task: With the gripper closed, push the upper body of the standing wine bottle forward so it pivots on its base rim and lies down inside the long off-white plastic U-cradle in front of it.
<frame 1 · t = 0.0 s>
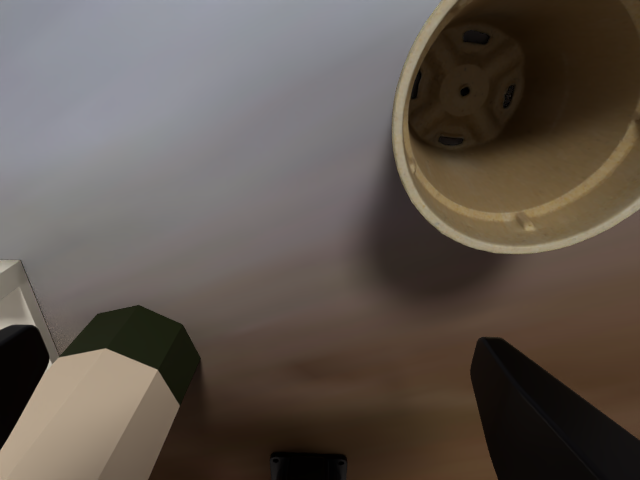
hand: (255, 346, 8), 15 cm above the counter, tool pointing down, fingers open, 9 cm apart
wine bottle: (144, 349, 28), on the counter
flower pot: (462, 89, 19), on the counter
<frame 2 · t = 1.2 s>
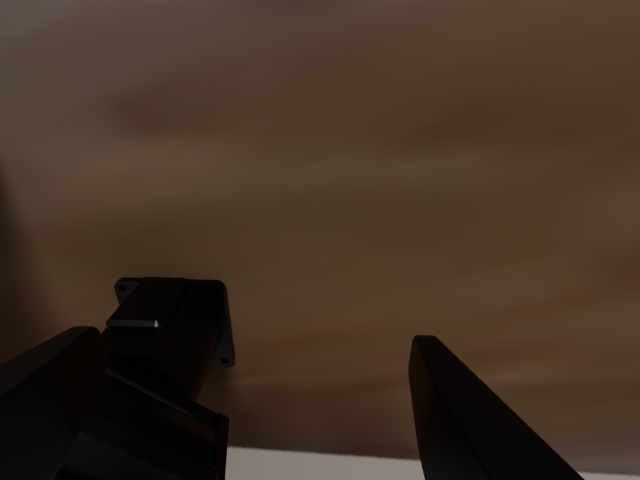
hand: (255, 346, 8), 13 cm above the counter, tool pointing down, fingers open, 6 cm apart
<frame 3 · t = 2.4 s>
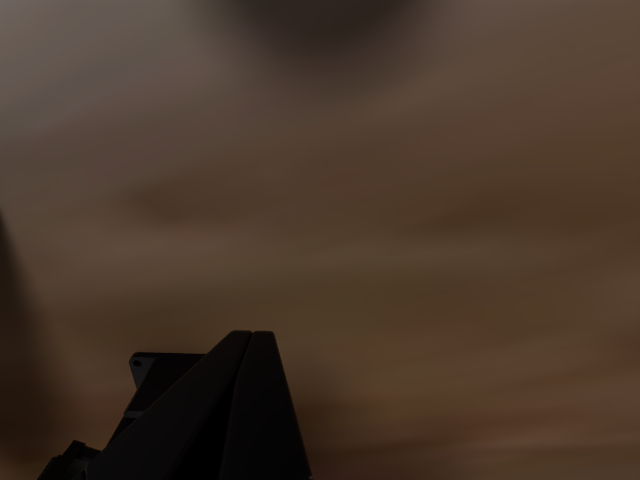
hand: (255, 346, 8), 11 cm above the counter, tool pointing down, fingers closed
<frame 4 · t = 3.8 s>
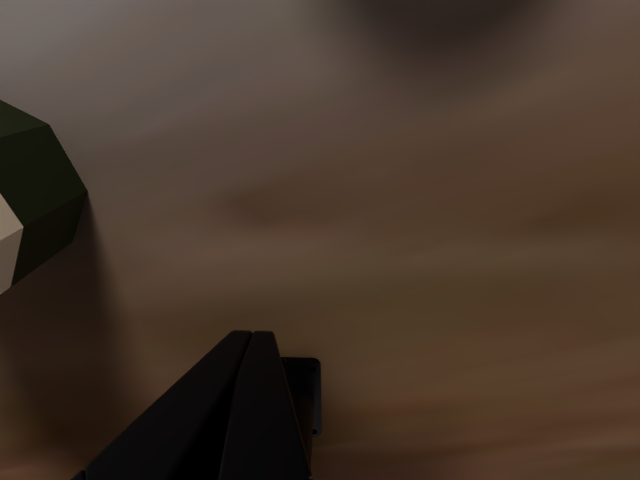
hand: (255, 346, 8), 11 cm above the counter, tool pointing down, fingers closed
wine bottle: (2, 178, 18), on the counter
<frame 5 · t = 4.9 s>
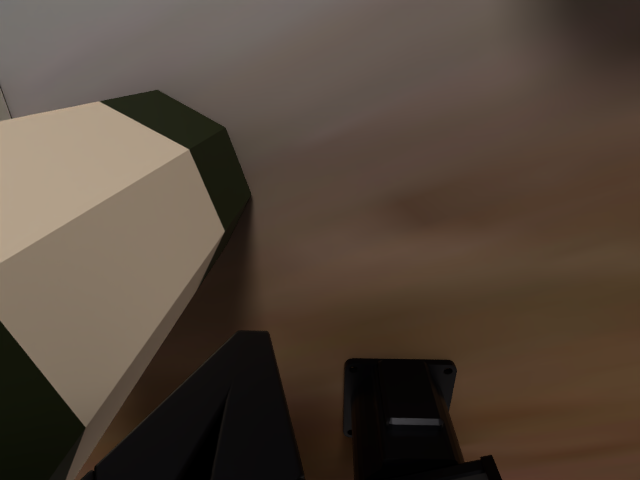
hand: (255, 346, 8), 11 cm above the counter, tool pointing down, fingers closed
wine bottle: (166, 181, 18), on the counter, touching gripper
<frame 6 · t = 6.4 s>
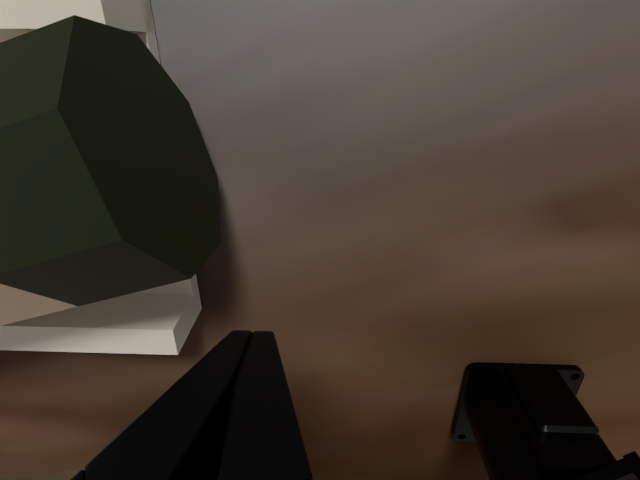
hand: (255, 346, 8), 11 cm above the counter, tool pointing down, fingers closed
wine bottle: (169, 152, 12), point 5 cm above the counter, touching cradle
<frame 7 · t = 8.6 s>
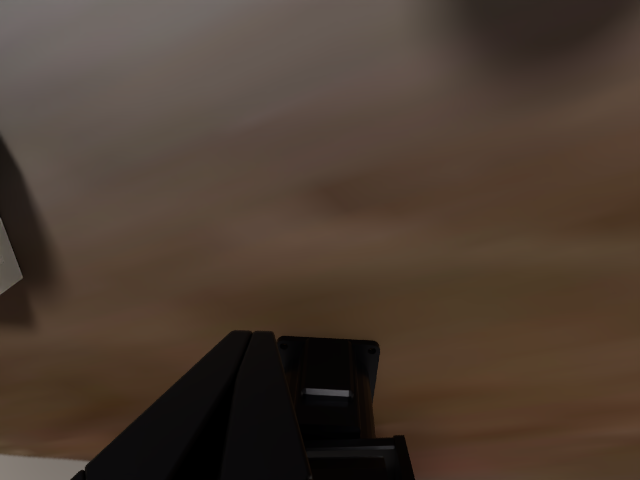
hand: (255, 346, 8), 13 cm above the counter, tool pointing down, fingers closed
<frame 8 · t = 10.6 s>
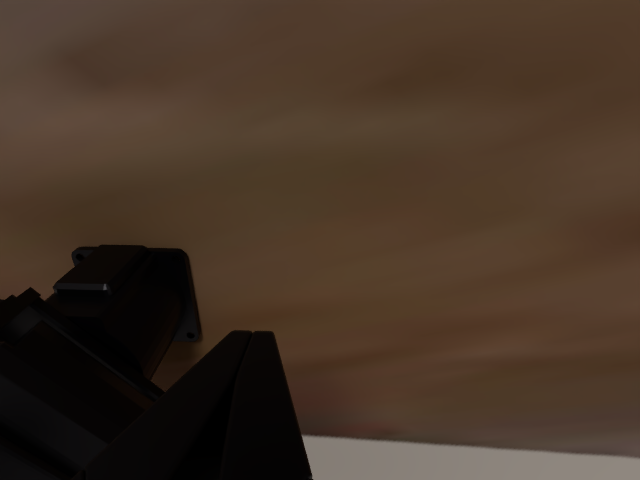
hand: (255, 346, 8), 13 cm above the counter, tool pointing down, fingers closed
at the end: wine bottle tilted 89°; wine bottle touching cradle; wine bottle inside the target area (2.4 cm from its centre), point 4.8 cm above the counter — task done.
